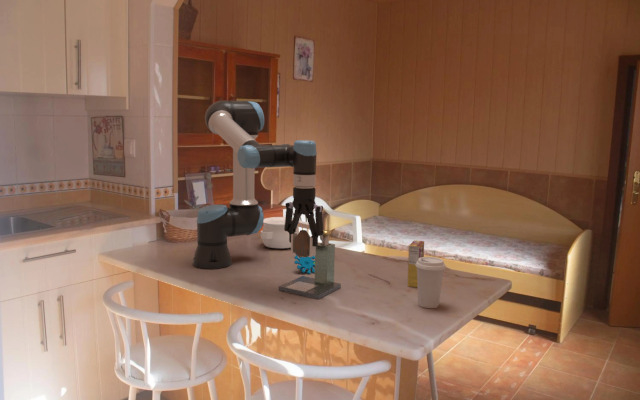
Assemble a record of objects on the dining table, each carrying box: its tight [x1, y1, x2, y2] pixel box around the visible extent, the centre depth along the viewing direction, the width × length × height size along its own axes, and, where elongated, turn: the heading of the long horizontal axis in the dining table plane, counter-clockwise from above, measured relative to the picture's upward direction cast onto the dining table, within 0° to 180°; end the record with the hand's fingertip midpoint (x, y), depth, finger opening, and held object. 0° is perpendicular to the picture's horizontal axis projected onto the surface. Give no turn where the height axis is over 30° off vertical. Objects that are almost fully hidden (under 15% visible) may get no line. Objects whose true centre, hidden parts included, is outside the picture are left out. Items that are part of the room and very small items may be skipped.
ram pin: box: [321, 229, 332, 246], centre depth 192 cm, size 4×4×11 cm
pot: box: [260, 216, 301, 250], centre depth 251 cm, size 22×17×12 cm
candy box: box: [407, 239, 425, 289], centre depth 200 cm, size 9×4×15 cm, turn 158°
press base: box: [278, 242, 342, 300], centre depth 191 cm, size 16×15×16 cm
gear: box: [293, 254, 315, 275], centre depth 214 cm, size 11×6×10 cm
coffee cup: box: [415, 256, 447, 309], centre depth 178 cm, size 10×10×15 cm
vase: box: [293, 229, 311, 258], centre depth 187 cm, size 7×7×9 cm
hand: (303, 253), depth 187 cm, fingers closed on vase, 7 cm apart
